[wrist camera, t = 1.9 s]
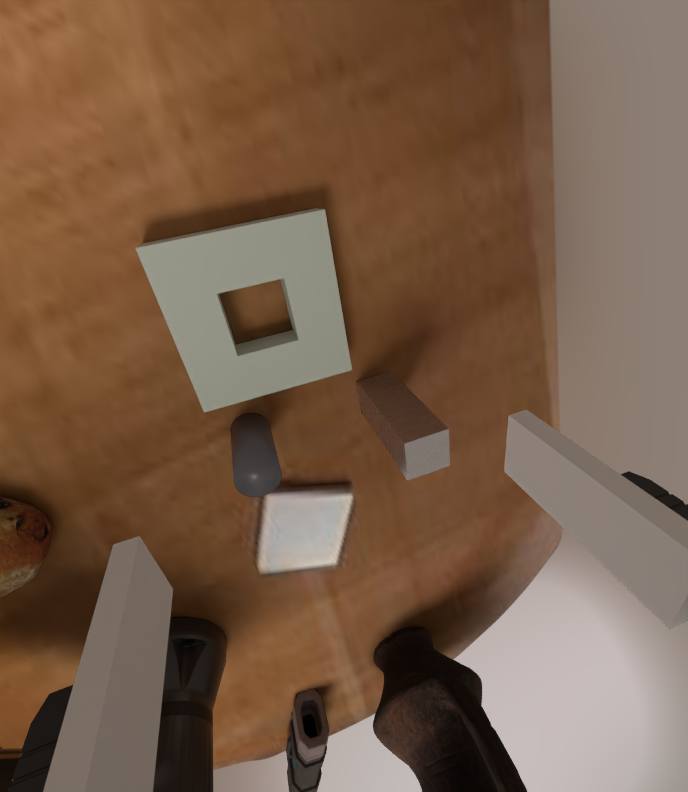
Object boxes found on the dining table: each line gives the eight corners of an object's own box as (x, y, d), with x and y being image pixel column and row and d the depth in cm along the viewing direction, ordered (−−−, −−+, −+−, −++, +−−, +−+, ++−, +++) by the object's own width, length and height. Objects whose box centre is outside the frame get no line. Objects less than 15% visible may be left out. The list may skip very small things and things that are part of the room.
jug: (431, 667, 75) (542, 906, 50) (344, 687, 69) (421, 974, 44) (466, 594, 67) (621, 838, 42) (371, 610, 60) (485, 910, 35)
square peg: (361, 412, 43) (407, 480, 32) (356, 381, 40) (404, 443, 30) (394, 402, 43) (449, 465, 33) (390, 371, 41) (448, 428, 31)
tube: (270, 759, 79) (281, 700, 63) (300, 739, 82) (317, 679, 66) (291, 827, 72) (309, 781, 56) (323, 803, 75) (348, 752, 59)
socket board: (204, 397, 36) (204, 412, 34) (142, 243, 29) (135, 248, 27) (342, 358, 39) (352, 370, 36) (315, 208, 32) (324, 209, 29)
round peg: (237, 450, 40) (242, 502, 33) (225, 419, 38) (227, 468, 31) (274, 439, 41) (286, 487, 34) (264, 408, 39) (275, 453, 32)
